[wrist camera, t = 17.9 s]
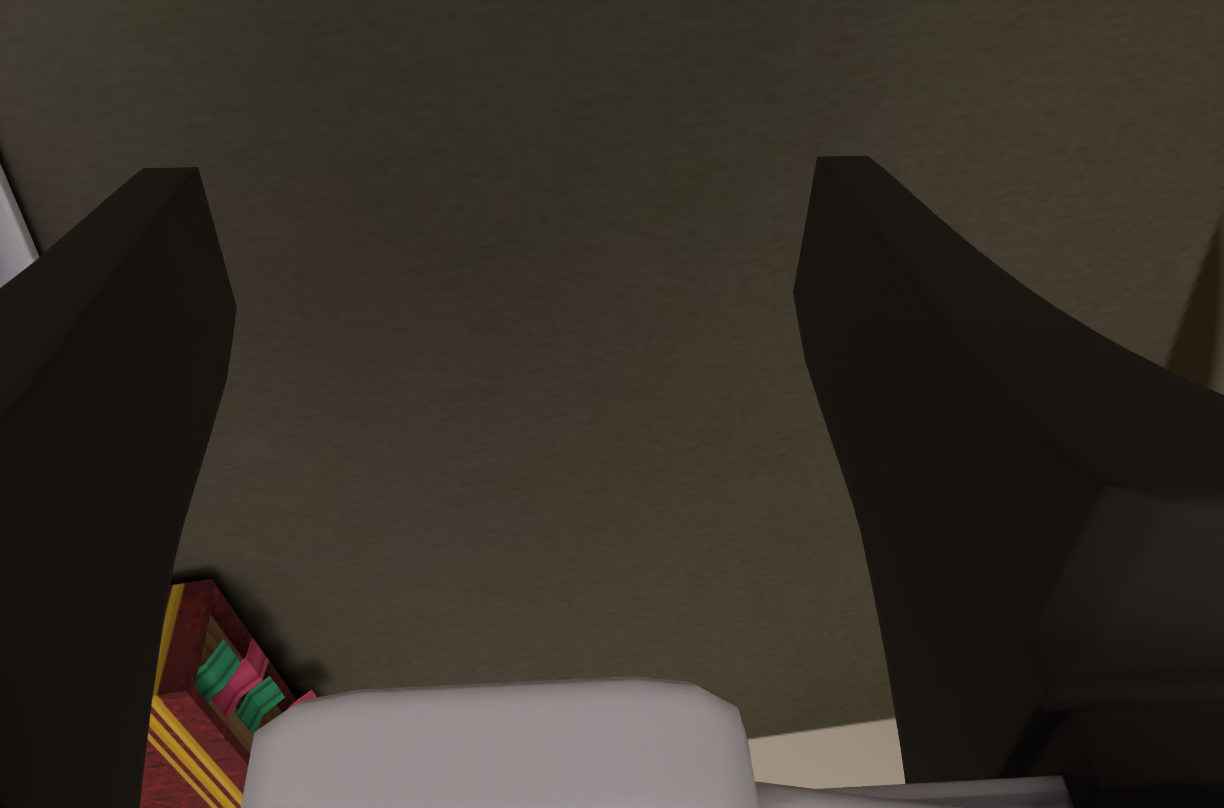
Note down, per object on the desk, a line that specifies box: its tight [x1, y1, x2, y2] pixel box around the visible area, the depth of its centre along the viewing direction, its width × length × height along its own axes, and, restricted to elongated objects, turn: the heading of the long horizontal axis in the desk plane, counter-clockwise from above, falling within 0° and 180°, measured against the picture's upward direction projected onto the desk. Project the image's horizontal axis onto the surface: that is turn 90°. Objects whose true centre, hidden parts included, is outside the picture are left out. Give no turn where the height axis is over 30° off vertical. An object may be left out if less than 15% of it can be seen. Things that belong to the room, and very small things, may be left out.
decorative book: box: [140, 579, 317, 808], centre depth 36 cm, size 11×16×5 cm
